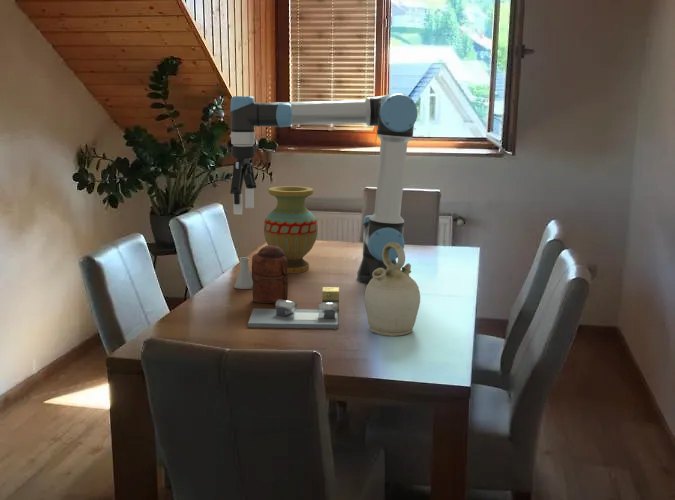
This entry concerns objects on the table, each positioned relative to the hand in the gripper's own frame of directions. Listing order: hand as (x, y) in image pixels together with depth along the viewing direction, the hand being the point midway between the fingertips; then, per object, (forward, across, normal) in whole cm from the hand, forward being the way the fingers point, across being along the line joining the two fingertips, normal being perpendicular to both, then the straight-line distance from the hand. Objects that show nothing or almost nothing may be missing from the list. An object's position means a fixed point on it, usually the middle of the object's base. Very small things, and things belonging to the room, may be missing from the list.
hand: (243, 211), depth 236 cm
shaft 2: (+25, +28, +33) cm, 50 cm away
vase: (+27, -32, +8) cm, 42 cm away
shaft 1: (+25, +29, +21) cm, 44 cm away
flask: (+27, -3, -1) cm, 27 cm away
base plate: (+26, +30, +23) cm, 46 cm away
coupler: (+26, +15, +32) cm, 44 cm away
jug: (+27, +32, +52) cm, 66 cm away
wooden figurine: (+27, +13, +12) cm, 32 cm away
